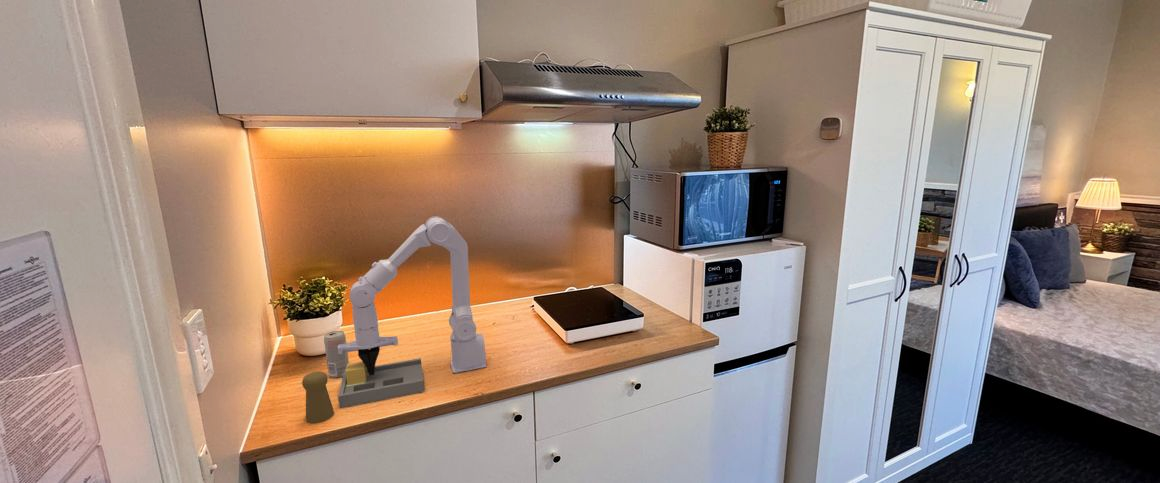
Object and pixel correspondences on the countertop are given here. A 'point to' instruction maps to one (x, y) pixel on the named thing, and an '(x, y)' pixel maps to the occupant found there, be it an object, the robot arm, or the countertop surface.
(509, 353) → the countertop surface
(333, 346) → the energy drink
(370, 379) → the trap tray
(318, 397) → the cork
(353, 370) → the block
